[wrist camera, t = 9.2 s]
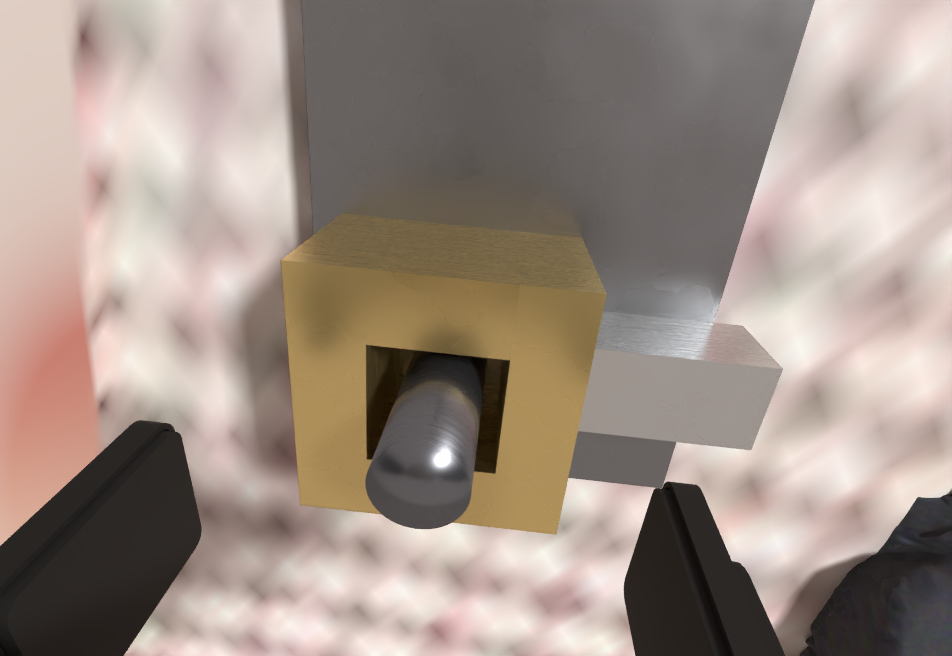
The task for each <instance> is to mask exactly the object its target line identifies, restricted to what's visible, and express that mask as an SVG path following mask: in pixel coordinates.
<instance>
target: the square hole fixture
mask: <svg viewBox="0 0 952 656" xmlns="http://www.w3.org/2000/svg"><path fill="white" fill-rule="evenodd" d="M814 1H815V0H301V2H302V22H303V42H304V62H305V81H306V101H307V121H308V141H309V160H310V180H311V200H312V220H313V236H312V237H310V238H309V239H308V240H306V241H305V242H304V243H302V244H301V245H300V246H299V247H297V248H296V249H295V250H293V251H292V252H291V253H289V254H288V255H287V256H285V257H284V258H283V259H282V260H281V270H282V282H283V295H284V307H285V320H286V332H287V345H288V357H289V370H290V382H291V395H292V407H293V420H294V432H295V445H296V457H297V470H298V482H299V495H300V505H305V506H314V507H322V508H331V509H340V510H348V511H357V512H366V513H374V514H381V513H380V512H379V511H378V510H377V509H376V508H375V507H374V506H373V504H372V503H371V501H370V499H369V497H368V495H367V492H366V486H365V480H366V475H367V471H368V469H369V466H370V464H371V461H372V459H373V456H374V453H375V451H376V448H377V446H378V443H379V441H380V438H381V435H382V433H383V430H384V428H385V425H386V423H387V420H388V418H389V415H390V412H391V410H392V407H393V405H394V402H395V400H396V397H397V394H398V392H399V389H400V387H401V384H402V382H403V379H404V376H405V374H406V371H407V369H408V366H409V364H410V361H411V358H412V356H413V353H414V351H415V350H418V351H428V352H437V353H446V354H455V355H465V356H474V357H483V358H487V365H486V373H485V382H484V390H483V399H482V407H481V416H480V424H479V433H478V441H477V450H476V458H475V467H474V475H473V484H472V492H471V499H470V503H469V505H468V507H467V509H466V511H465V512H464V513H463V514H462V515H461V516H460V517H459V518H458V519H457V520H455V521H454V522H452V523H461V524H470V525H478V526H487V527H496V528H504V529H513V530H522V531H530V532H539V533H548V534H557V529H558V524H559V519H560V514H561V510H562V505H563V500H564V495H565V491H566V486H567V481H568V478H576V479H585V480H593V481H602V482H611V483H620V484H629V485H638V486H647V487H655V488H662V486H663V483H664V480H665V477H666V473H667V470H668V467H669V464H670V461H671V458H672V454H673V451H674V448H675V445H676V442H682V443H691V444H700V445H709V446H718V447H727V448H736V449H745V450H751V449H752V446H753V444H754V441H755V439H756V436H757V434H758V431H759V429H760V426H761V424H762V421H763V418H764V416H765V413H766V411H767V408H768V406H769V403H770V401H771V398H772V396H773V393H774V390H775V388H776V385H777V383H778V380H779V378H780V375H781V373H782V370H783V368H782V367H781V366H780V365H779V364H778V363H777V362H776V361H775V360H774V359H773V358H772V357H771V356H770V355H769V354H768V352H767V351H766V350H765V349H764V348H763V347H762V346H761V345H760V344H759V343H758V342H757V341H756V340H755V339H754V337H753V336H752V335H751V334H750V333H749V332H748V331H747V330H746V329H745V328H744V327H743V326H739V325H729V324H720V323H714V320H715V317H716V314H717V311H718V307H719V304H720V301H721V298H722V295H723V291H724V288H725V285H726V282H727V279H728V276H729V272H730V269H731V266H732V263H733V260H734V256H735V253H736V250H737V247H738V244H739V240H740V237H741V234H742V231H743V228H744V224H745V221H746V218H747V215H748V212H749V208H750V205H751V202H752V199H753V196H754V192H755V189H756V186H757V183H758V180H759V177H760V173H761V170H762V167H763V164H764V161H765V157H766V154H767V151H768V148H769V145H770V141H771V138H772V135H773V132H774V129H775V125H776V122H777V119H778V116H779V113H780V109H781V106H782V103H783V100H784V97H785V94H786V90H787V87H788V84H789V81H790V78H791V74H792V71H793V68H794V65H795V62H796V58H797V55H798V52H799V49H800V46H801V42H802V39H803V36H804V33H805V30H806V26H807V23H808V20H809V17H810V14H811V10H812V7H813V4H814Z"/></svg>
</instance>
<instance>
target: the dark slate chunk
mask: <svg viewBox="0 0 952 656" xmlns="http://www.w3.org/2000/svg"><path fill="white" fill-rule="evenodd" d="M811 631H812V634H813V636H811V637H810V638H809V639H807V640H806V641H805V642H806V643H807V644H808V645H809V646H808V647H807V649H806V651H805V652H804V653H803V654H802V655H801V656H952V495H951V496H947V495H944V496H942V497H941V498H921V497H918V498H917V499H916V501H915V502H914V504H913V505H912V507H911V508H910V510H909V511H908V513H907V514H906V516H905V517H904V518H903V520H902V521H901V522H900V524H899V525H898V526H897V527H896V528H895V529H894V531H893V532H892V534H891V535H890V537H889V539H888V540H887V542H886V543H885V544H884V546H883V547H882V548H881V549H880V550H879V552H878V553H877V554H875V555H873V556H871V557H870V558H868V559H867V560H866V561H864V562H862V563H860V564H858V565H857V566H855V567H854V568H853V569H852V570H851V571H850V572H849V573H848V574H847V576H846V577H845V578H844V580H843V581H842V582H841V584H840V585H839V586H838V587H837V588H836V589H835V590H834V592H833V594H832V596H831V598H830V599H829V600H828V602H827V603H826V605H825V606H824V608H823V609H822V611H821V612H820V613H819V614H818V616H817V617H816V619H815V620H814V622H813V623H812V625H811Z"/></svg>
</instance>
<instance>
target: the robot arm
mask: <svg viewBox="0 0 952 656" xmlns="http://www.w3.org/2000/svg"><path fill="white" fill-rule="evenodd" d="M200 537H201V523H200V519H199V514H198V510H197V505H196V500H195V496H194V491H193V487H192V482H191V478H190V473H189V469H188V464H187V460H186V455H185V451H184V446H183V442H182V437H181V435H180V434H179V433H178V432H175V430H174V428H173V426H172V425H171V424H167V423H160V422H151V421H142V420H140V421H136V422H134V423H133V424H132V425H130V426H129V427H128V428H127V429H126V430H125V431H124V432H123V433H122V434H121V435H120V436H118V437H117V438H116V439H115V440H114V441H113V442H112V443H111V444H110V445H109V446H108V447H107V448H106V449H104V450H103V451H102V452H101V453H100V454H99V455H98V456H97V457H96V458H95V459H94V460H93V461H92V462H91V463H89V464H88V465H87V466H86V467H85V468H84V469H83V470H82V471H81V472H80V473H79V474H78V475H77V476H75V477H74V478H73V479H72V480H71V481H70V482H69V483H68V484H67V485H66V486H65V487H63V488H62V489H61V490H60V491H59V492H58V493H57V494H56V495H55V496H54V497H53V498H52V499H51V500H50V501H48V502H47V503H46V504H45V505H44V506H43V507H42V508H41V509H40V510H39V511H38V512H36V513H35V514H34V515H33V516H32V517H31V518H30V519H29V520H28V521H27V522H26V523H25V524H24V525H23V526H21V527H20V528H19V529H18V530H17V531H16V532H15V533H14V534H13V535H12V536H11V537H10V538H8V539H7V541H5V542H4V543H3V544H2V545H1V546H0V656H124V654H125V653H126V651H127V650H128V648H129V647H130V645H131V644H132V642H133V641H134V639H135V638H136V636H137V635H138V633H139V632H140V630H141V629H142V627H143V626H144V624H145V623H146V621H147V620H148V618H149V617H150V615H151V614H152V612H153V611H154V609H155V608H156V606H157V605H158V603H159V602H160V600H161V599H162V597H163V596H164V594H165V593H166V591H167V590H168V589H169V587H170V586H171V584H172V583H173V581H174V580H175V578H176V577H177V575H178V574H179V572H180V571H181V569H182V568H183V566H184V565H185V563H186V562H187V560H188V559H189V557H190V556H191V554H192V553H193V551H194V550H195V548H196V546H197V545H198V543H199V540H200ZM624 599H625V604H626V610H627V615H628V620H629V625H630V630H631V635H632V640H633V645H634V650H635V655H636V656H785V654H784V652H783V649H782V647H781V645H780V643H779V640H778V638H777V636H776V634H775V632H774V629H773V627H772V625H771V623H770V620H769V618H768V616H767V614H766V612H765V609H764V607H763V605H762V603H761V600H760V598H759V596H758V594H757V592H756V589H755V587H754V585H753V583H752V580H751V578H750V576H749V574H748V573H747V571H746V569H745V568H744V567H743V566H742V565H741V564H740V563H738V562H733V561H731V558H730V556H729V554H728V551H727V549H726V547H725V544H724V542H723V540H722V537H721V535H720V533H719V530H718V528H717V526H716V523H715V521H714V519H713V516H712V514H711V511H710V509H709V507H708V504H707V502H706V500H705V497H704V495H703V493H702V491H701V489H700V487H699V486H697V485H692V484H684V483H675V482H666V483H665V484H664V486H663V488H662V489H660V488H655V489H654V491H653V494H652V497H651V500H650V503H649V506H648V509H647V512H646V515H645V518H644V522H643V525H642V528H641V531H640V534H639V537H638V540H637V543H636V546H635V550H634V553H633V556H632V559H631V562H630V565H629V568H628V571H627V574H626V577H625V582H624Z"/></svg>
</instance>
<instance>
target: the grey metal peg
mask: <svg viewBox="0 0 952 656" xmlns="http://www.w3.org/2000/svg"><path fill="white" fill-rule="evenodd" d="M486 365H487V358H483V357H474V356H465V355H455V354H446V353H437V352H428V351H418V350H415V351H414V353H413V356H412V358H411V361H410V364H409V366H408V369H407V371H406V374H405V376H404V379H403V382H402V384H401V387H400V389H399V392H398V394H397V397H396V400H395V402H394V405H393V407H392V410H391V412H390V415H389V418H388V420H387V423H386V425H385V428H384V430H383V433H382V435H381V438H380V441H379V443H378V446H377V448H376V451H375V453H374V456H373V459H372V461H371V464H370V466H369V469H368V471H367V475H366V480H365V486H366V492H367V495H368V497H369V499H370V501H371V503H372V504H373V506H374V507H375V508H376V509H377V510H378V511H379V512H380V513H381V514H382V515H384V516H385V517H386V518H388V519H389V520H391V521H393V522H395V523H397V524H400V525H402V526H406V527H410V528H415V529H433V528H439V527H442V526H445V525H448V524H450V523H452V522H454V521H455V520H457V519H458V518H459V517H460V516H461V515H462V514H463V513H464V512H465V511H466V509H467V507H468V505H469V503H470V499H471V492H472V484H473V475H474V467H475V458H476V450H477V441H478V433H479V424H480V416H481V407H482V399H483V390H484V382H485V373H486Z"/></svg>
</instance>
